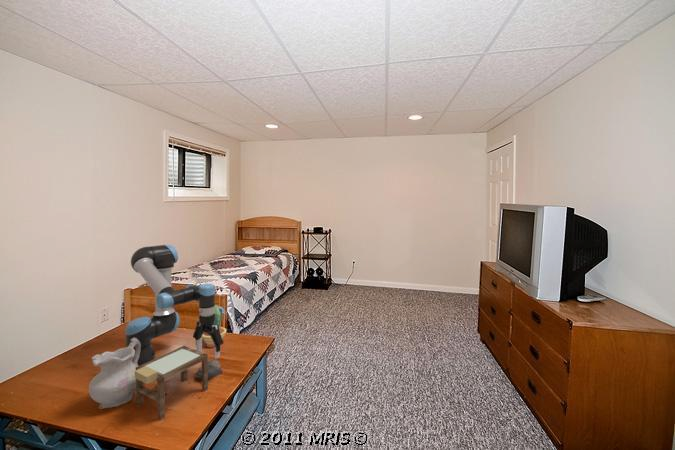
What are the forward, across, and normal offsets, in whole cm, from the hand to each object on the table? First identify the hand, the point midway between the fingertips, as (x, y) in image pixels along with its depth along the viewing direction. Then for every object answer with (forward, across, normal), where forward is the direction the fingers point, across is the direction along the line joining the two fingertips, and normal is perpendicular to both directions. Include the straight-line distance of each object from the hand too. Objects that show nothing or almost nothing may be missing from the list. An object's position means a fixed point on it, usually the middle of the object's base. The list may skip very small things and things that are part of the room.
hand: (208, 354), depth 147 cm
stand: (+12, 0, -19) cm, 22 cm away
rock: (+12, -1, 0) cm, 12 cm away
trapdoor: (-4, +1, -21) cm, 22 cm away
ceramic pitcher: (+11, -20, -31) cm, 39 cm away
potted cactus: (+11, -26, +25) cm, 38 cm away
